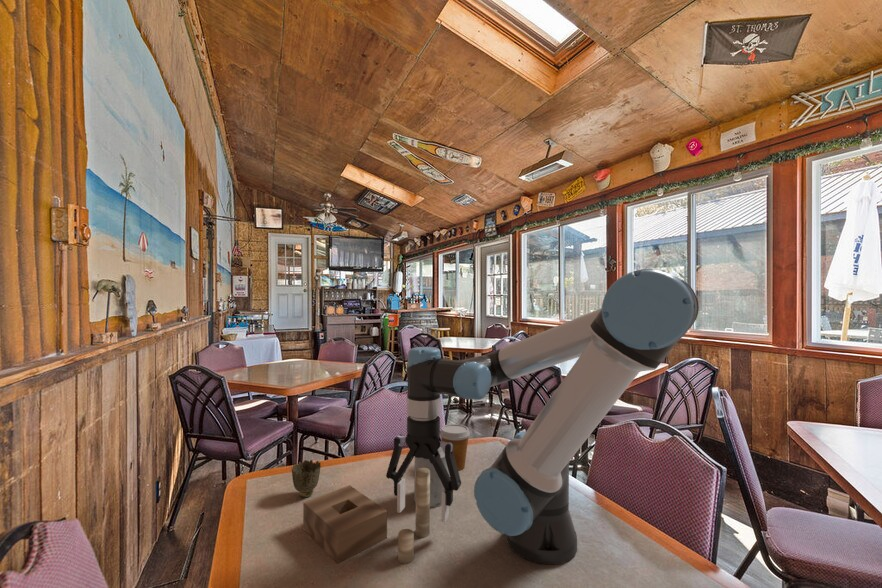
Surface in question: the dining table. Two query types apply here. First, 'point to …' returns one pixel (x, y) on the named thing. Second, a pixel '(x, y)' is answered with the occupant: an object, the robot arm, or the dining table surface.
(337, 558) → the hole block
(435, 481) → the speckled white tub
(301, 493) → the olive hollow patterned container
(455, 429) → the disposable coffee cup
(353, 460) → the dining table surface
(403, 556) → the short pin
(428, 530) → the long pin
